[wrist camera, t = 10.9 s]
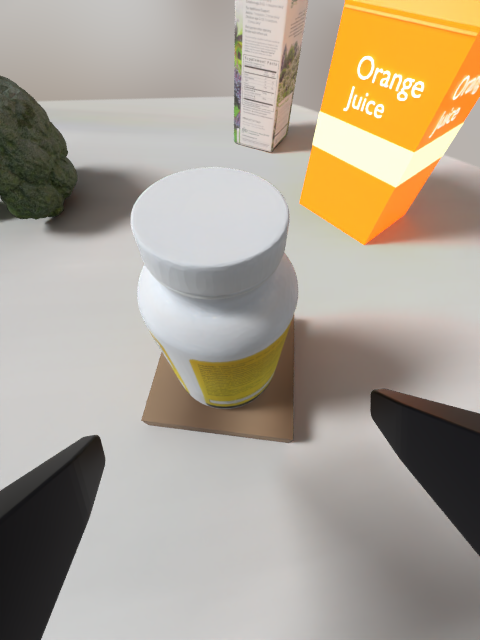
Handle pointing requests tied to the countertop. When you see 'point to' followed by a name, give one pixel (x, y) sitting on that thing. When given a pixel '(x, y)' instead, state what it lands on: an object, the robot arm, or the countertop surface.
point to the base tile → (246, 421)
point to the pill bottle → (216, 280)
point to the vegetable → (31, 157)
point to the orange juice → (390, 108)
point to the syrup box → (266, 68)
